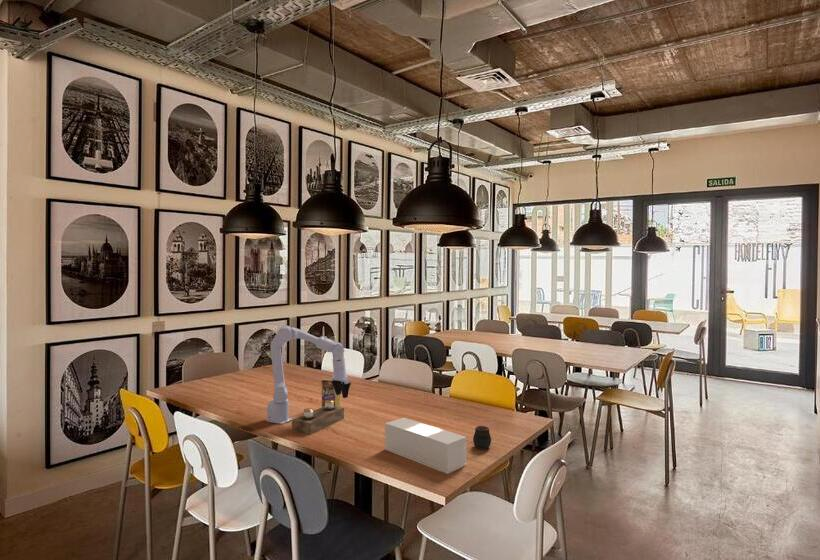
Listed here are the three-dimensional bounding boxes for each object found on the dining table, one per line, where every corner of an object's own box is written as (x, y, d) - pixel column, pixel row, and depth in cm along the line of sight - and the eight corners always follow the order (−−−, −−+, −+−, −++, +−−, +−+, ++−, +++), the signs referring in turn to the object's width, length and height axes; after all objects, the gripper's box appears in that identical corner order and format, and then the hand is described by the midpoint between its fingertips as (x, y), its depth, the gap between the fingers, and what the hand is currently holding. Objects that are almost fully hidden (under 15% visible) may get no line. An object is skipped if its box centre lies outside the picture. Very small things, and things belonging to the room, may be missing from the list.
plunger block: (291, 431, 210) (292, 419, 209) (326, 415, 233) (326, 405, 233) (310, 434, 205) (310, 423, 205) (344, 418, 229) (344, 407, 229)
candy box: (320, 409, 243) (321, 379, 243) (326, 407, 247) (326, 377, 247) (334, 412, 239) (335, 381, 239) (340, 409, 243) (340, 379, 242)
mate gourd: (489, 444, 197) (489, 420, 197) (492, 451, 190) (493, 426, 190) (471, 443, 197) (472, 419, 197) (474, 451, 190) (475, 426, 189)
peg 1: (301, 420, 211) (302, 409, 211) (307, 417, 214) (307, 407, 214) (309, 421, 209) (309, 411, 209) (314, 418, 213) (314, 408, 213)
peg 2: (323, 410, 225) (323, 401, 225) (328, 408, 229) (328, 399, 229) (330, 411, 224) (330, 402, 224) (335, 409, 227) (335, 400, 227)
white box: (465, 465, 175) (466, 436, 175) (447, 474, 168) (447, 444, 168) (403, 443, 198) (404, 417, 197) (384, 450, 190) (385, 423, 190)
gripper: (353, 368, 225) (356, 397, 226) (340, 364, 237) (343, 391, 238) (339, 371, 221) (342, 400, 222) (327, 367, 233) (329, 394, 234)
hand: (341, 396), depth 229 cm, fingers open, 7 cm apart
